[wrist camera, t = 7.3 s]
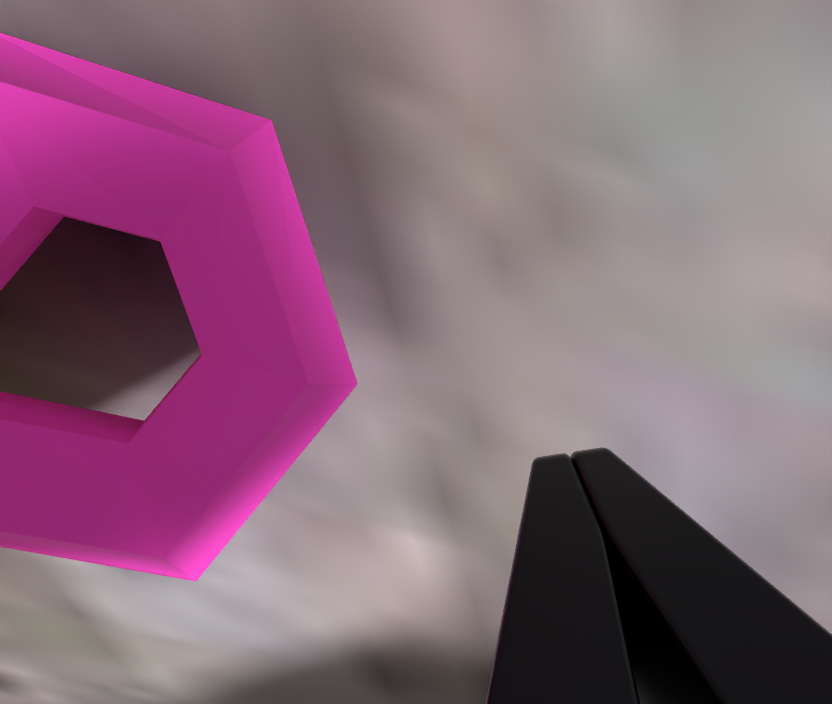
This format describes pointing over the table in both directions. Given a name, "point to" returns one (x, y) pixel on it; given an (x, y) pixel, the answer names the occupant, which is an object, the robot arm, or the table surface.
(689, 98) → the table surface
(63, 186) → the toy
